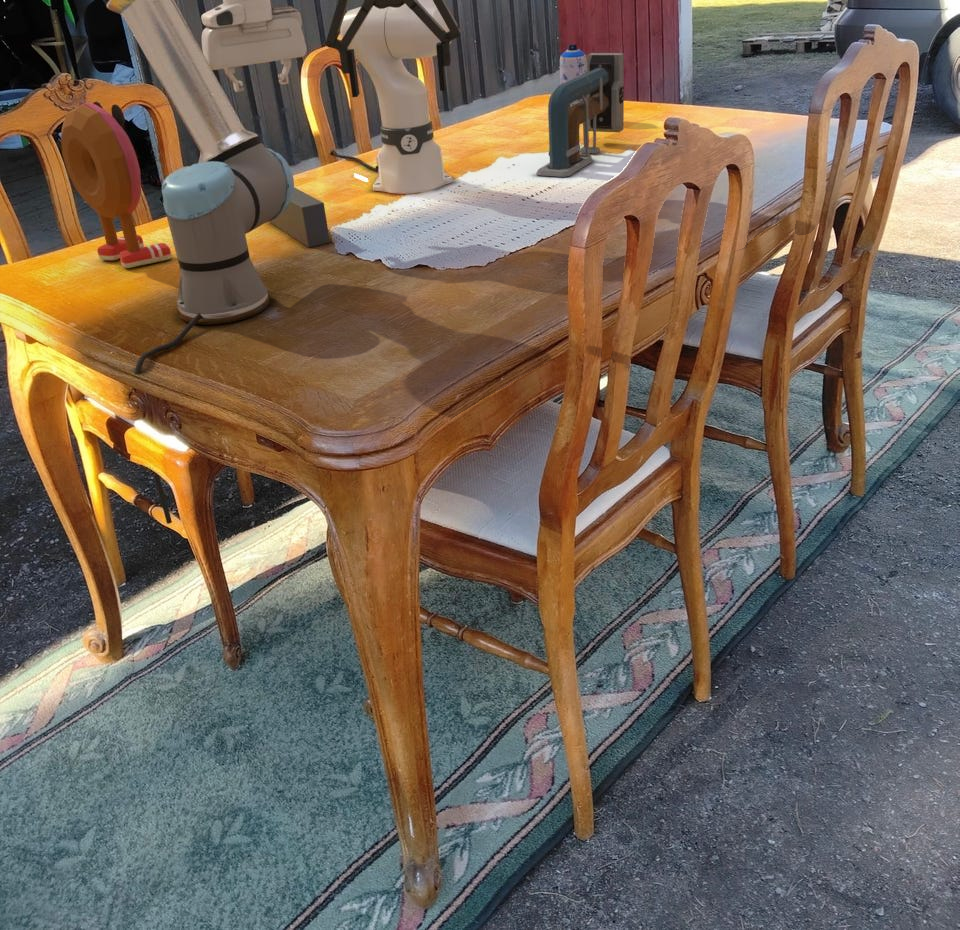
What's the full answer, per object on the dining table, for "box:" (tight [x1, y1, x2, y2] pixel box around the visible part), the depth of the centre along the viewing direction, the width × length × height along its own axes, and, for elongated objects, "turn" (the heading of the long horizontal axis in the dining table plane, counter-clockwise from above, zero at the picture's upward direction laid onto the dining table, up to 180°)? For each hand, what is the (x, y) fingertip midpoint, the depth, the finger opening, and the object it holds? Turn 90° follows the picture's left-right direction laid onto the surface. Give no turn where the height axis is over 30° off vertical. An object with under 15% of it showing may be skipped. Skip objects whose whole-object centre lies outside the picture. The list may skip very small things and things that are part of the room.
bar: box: [269, 186, 331, 248], centre depth 200 cm, size 23×5×8 cm, turn 30°
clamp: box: [535, 52, 625, 178], centre depth 233 cm, size 35×9×21 cm, turn 151°
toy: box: [60, 101, 172, 269], centre depth 187 cm, size 21×10×30 cm, turn 47°
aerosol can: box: [559, 43, 587, 107], centre depth 273 cm, size 8×8×20 cm
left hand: (399, 92), depth 149 cm, fingers open, 13 cm apart
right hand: (262, 87), depth 193 cm, fingers open, 8 cm apart
